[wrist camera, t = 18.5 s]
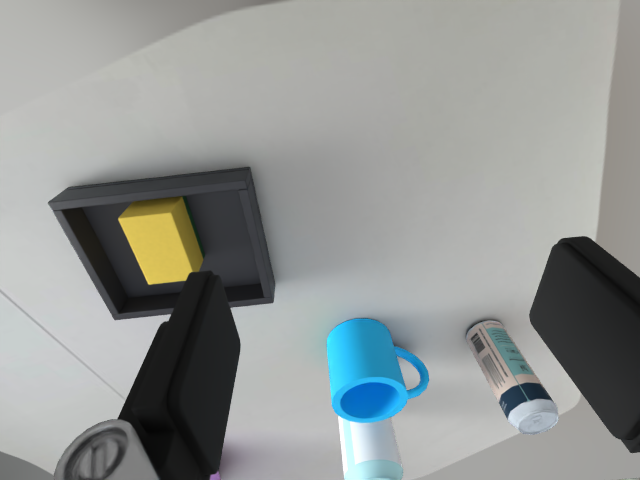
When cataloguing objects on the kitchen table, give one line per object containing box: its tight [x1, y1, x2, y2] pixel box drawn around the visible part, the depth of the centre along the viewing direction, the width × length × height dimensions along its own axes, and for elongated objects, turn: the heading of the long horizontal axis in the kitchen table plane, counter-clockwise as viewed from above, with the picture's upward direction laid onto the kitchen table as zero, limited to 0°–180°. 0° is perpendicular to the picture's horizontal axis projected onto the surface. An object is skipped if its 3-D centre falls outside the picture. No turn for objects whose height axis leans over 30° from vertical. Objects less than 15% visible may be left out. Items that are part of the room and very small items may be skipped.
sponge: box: [118, 196, 205, 285], centre depth 32 cm, size 7×4×4 cm, turn 6°
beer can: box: [466, 321, 559, 435], centre depth 39 cm, size 5×5×12 cm
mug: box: [327, 318, 429, 423], centre depth 41 cm, size 12×8×8 cm
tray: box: [48, 167, 275, 320], centre depth 34 cm, size 14×17×3 cm
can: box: [338, 415, 403, 480], centre depth 45 cm, size 7×7×12 cm
